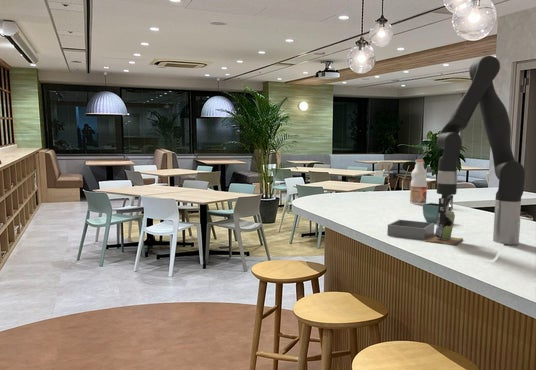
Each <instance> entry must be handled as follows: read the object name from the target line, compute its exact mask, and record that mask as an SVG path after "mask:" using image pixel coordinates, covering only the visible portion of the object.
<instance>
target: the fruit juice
mask: <svg viewBox="0 0 536 370" xmlns="http://www.w3.org/2000/svg"><path fill="white" fill-rule="evenodd" d="M424 162H425V160H424V159H415V166H414V169H412V171H411V175H410V176H411V181H410V188H409V189H410V193H409V204H410V205H415V206H422V204H427V193H428V191H427V190H428V181H427V177H428V172H427V171H426V169H425V166H424Z"/></svg>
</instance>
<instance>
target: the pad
mask: <svg viewBox="0 0 536 370" xmlns="http://www.w3.org/2000/svg"><path fill="white" fill-rule="evenodd" d="M463 240H464V238H463V237H462V238H461V237H453V236H451V238H450V239H448V240H442V239H439V238H437V236H435V234H432V235H431V236H429V237H428V238H426V239H425V241H424V242H426V243H433V244H434V243H435V244H441V245H450V246H458V245H459V244H460V243H461V242H462V241H463Z"/></svg>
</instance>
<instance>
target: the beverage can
mask: <svg viewBox="0 0 536 370" xmlns="http://www.w3.org/2000/svg"><path fill="white" fill-rule="evenodd" d="M455 217H456V215H455V212H454V211H453V210H452V211H450V210H447V213H446V223H445V224H440V214H439V217H438V222H437V223H436V229H435V231H434V235H435V236H437V238H439V239H442V240H448V239H450V238H451V237H452V232H453V227H454V223H455Z"/></svg>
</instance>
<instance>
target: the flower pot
mask: <svg viewBox="0 0 536 370" xmlns="http://www.w3.org/2000/svg"><path fill="white" fill-rule="evenodd" d="M421 206H422V214H423V218H424V220H425V222H428V223H434V224H437V222H438V217H439V213H438V208H439V203H436V202H435V203H434V202H429V203H427V202H426V204H422V205H421Z"/></svg>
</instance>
